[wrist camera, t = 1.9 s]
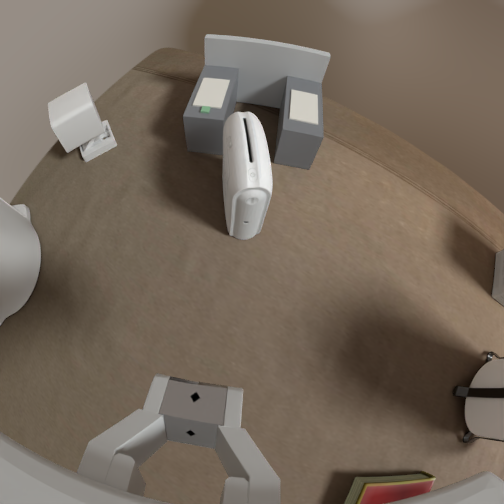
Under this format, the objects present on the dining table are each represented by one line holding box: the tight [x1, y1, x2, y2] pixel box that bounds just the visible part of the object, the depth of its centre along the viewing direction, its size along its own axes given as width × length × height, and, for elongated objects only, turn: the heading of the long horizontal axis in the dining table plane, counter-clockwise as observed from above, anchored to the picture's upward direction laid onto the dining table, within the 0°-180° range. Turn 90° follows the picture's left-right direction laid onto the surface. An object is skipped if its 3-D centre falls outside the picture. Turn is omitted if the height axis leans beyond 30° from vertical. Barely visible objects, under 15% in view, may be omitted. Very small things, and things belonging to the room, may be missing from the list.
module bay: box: [183, 34, 330, 170], centre depth 35 cm, size 17×13×12 cm
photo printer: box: [222, 112, 272, 240], centre depth 31 cm, size 10×4×12 cm, turn 7°
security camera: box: [48, 82, 117, 162], centre depth 33 cm, size 6×7×10 cm
